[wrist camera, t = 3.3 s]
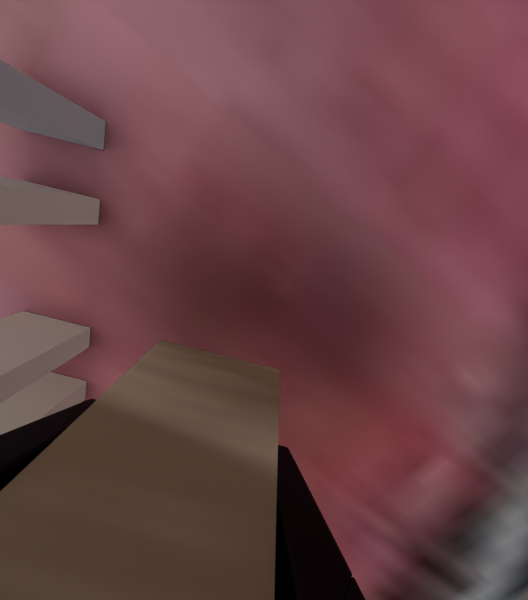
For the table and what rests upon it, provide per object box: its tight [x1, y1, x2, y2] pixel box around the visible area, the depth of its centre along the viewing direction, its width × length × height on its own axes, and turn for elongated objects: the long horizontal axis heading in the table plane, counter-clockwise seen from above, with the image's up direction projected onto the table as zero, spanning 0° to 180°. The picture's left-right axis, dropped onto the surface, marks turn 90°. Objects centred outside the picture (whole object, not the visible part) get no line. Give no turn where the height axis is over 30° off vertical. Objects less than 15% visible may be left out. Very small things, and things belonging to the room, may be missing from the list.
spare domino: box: [0, 340, 280, 600], centre depth 7 cm, size 2×5×9 cm, turn 77°
